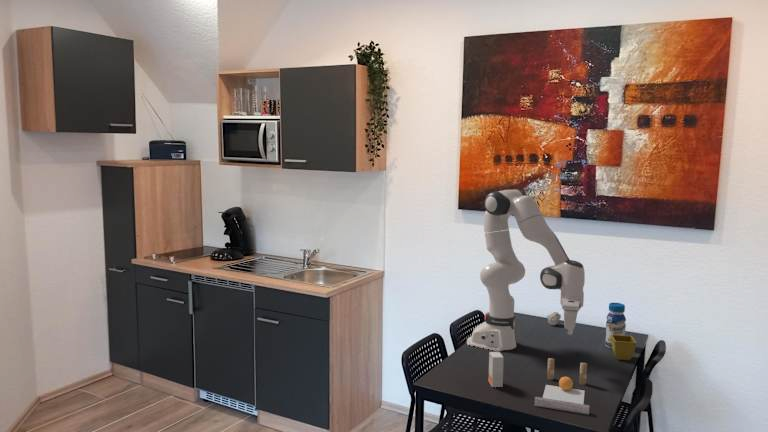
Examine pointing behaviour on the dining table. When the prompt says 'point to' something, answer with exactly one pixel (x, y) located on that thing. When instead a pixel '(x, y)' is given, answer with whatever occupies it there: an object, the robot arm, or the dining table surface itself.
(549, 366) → the left post
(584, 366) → the right post
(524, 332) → the dining table surface
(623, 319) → the beverage bottle
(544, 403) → the wall
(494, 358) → the skincare box
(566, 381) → the ball
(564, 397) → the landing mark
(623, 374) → the dining table surface
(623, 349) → the flower pot
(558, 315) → the frog figurine
